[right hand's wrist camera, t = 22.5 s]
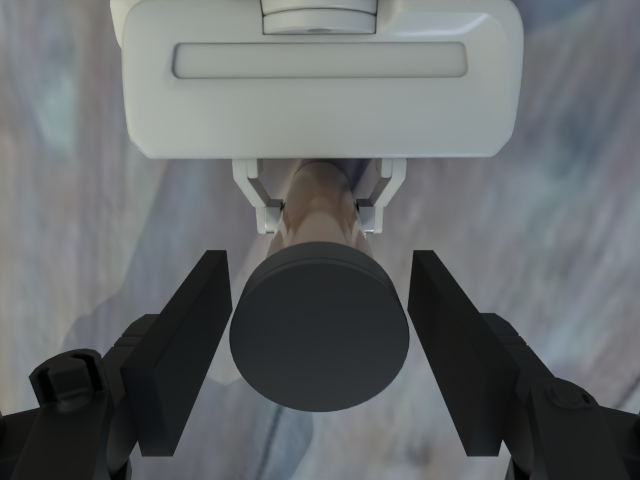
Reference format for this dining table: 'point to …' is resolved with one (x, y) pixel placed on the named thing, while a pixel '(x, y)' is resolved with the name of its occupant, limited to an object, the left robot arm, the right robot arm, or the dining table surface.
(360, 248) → the bottle
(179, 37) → the left robot arm
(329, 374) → the lid
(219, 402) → the dining table surface
